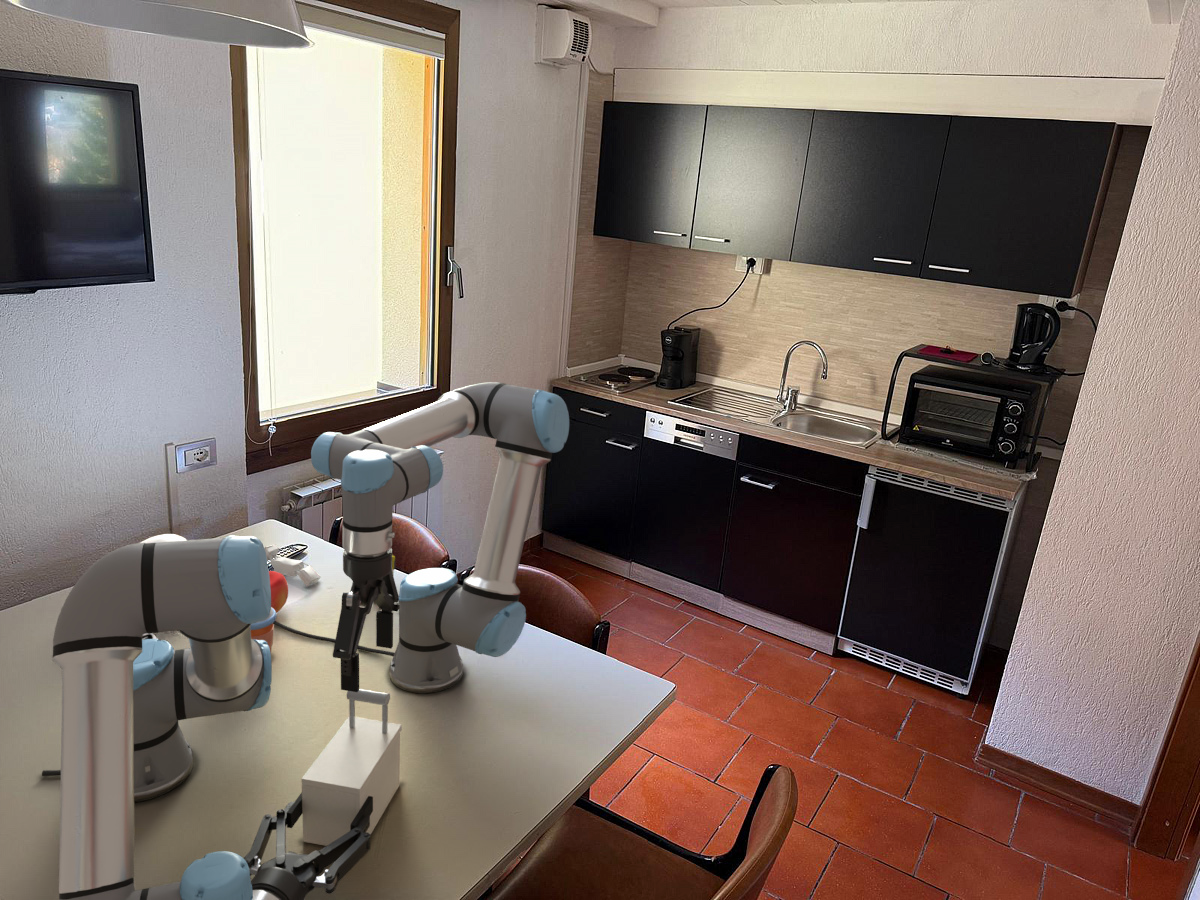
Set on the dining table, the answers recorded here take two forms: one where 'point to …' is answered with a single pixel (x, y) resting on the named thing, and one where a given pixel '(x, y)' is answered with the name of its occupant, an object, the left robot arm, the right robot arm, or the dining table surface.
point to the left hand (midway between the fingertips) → (339, 797)
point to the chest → (349, 802)
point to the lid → (354, 748)
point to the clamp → (291, 566)
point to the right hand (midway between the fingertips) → (368, 667)
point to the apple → (278, 590)
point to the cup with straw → (264, 629)
